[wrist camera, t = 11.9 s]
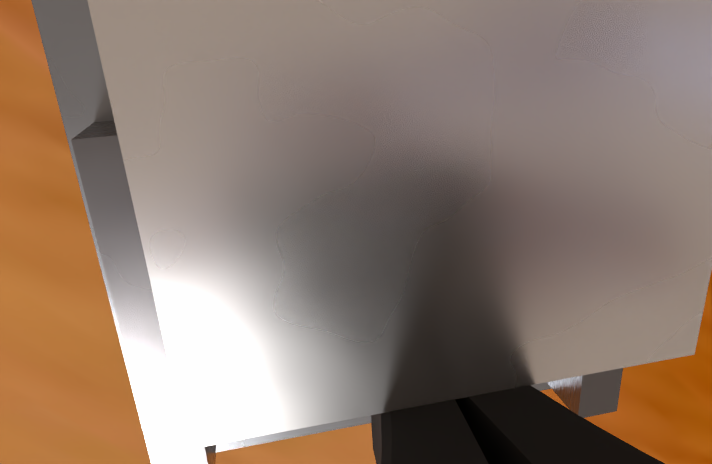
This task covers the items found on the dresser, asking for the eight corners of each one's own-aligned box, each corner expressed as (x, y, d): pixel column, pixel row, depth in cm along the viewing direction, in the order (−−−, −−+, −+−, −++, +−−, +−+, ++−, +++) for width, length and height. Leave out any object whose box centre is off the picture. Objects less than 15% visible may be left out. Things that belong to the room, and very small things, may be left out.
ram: (577, -151, 8) (820, -270, 4) (546, 245, 10) (694, 354, 7) (124, -144, 7) (22, -286, 4) (204, 295, 9) (187, 449, 6)
